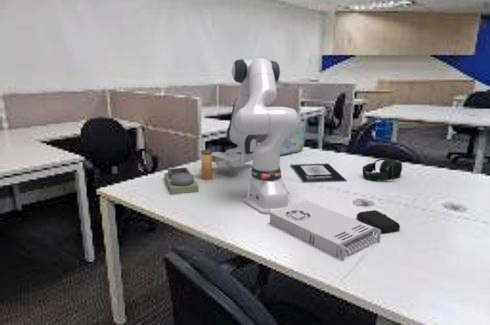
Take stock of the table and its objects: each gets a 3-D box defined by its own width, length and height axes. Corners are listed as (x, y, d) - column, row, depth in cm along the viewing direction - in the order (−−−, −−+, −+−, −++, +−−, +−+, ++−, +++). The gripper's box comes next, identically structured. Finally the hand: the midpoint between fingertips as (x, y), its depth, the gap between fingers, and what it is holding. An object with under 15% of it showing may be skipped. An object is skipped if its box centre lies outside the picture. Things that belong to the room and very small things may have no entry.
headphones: (382, 159, 201) (353, 170, 193) (396, 146, 190) (367, 157, 182) (396, 181, 196) (368, 193, 188) (412, 169, 185) (382, 181, 177)
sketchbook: (303, 184, 181) (303, 180, 181) (289, 167, 210) (289, 163, 210) (346, 182, 183) (347, 178, 183) (327, 165, 212) (327, 162, 212)
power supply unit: (343, 262, 112) (344, 247, 111) (269, 224, 137) (269, 212, 136) (379, 243, 124) (381, 229, 122) (305, 212, 149) (305, 200, 147)
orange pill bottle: (213, 179, 186) (213, 151, 182) (202, 180, 184) (202, 152, 181) (211, 176, 191) (210, 149, 187) (200, 177, 189) (199, 150, 186)
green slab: (198, 191, 169) (198, 179, 167) (171, 194, 165) (170, 181, 164) (188, 176, 191) (188, 164, 189) (164, 178, 187) (164, 166, 186)
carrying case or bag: (404, 231, 132) (378, 215, 145) (405, 223, 131) (378, 207, 145) (379, 235, 129) (354, 218, 142) (379, 227, 128) (354, 211, 141)
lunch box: (294, 148, 251) (295, 116, 245) (306, 151, 243) (308, 117, 237) (264, 154, 234) (265, 120, 228) (276, 157, 227) (277, 122, 221)
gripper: (219, 147, 203) (198, 152, 194) (245, 154, 189) (224, 159, 180) (219, 159, 205) (199, 163, 196) (245, 166, 190) (224, 172, 181)
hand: (211, 161), depth 188 cm, fingers open, 8 cm apart
